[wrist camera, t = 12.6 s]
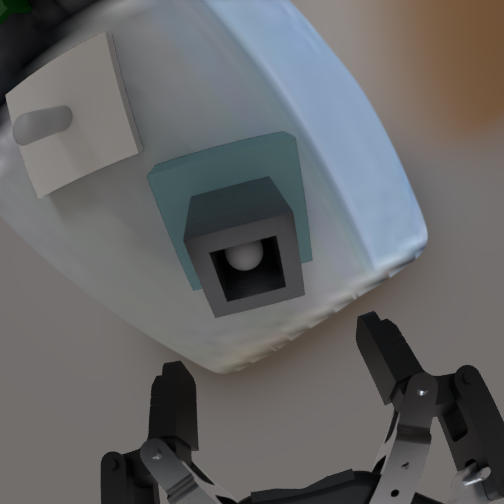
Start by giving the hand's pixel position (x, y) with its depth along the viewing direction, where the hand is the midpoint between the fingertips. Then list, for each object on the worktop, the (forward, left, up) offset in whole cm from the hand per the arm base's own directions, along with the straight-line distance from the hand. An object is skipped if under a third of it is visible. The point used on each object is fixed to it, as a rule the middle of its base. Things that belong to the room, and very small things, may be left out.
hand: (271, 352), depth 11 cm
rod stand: (-13, -11, -13) cm, 21 cm away
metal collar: (-1, 0, -10) cm, 10 cm away
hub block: (-1, 0, -13) cm, 13 cm away
